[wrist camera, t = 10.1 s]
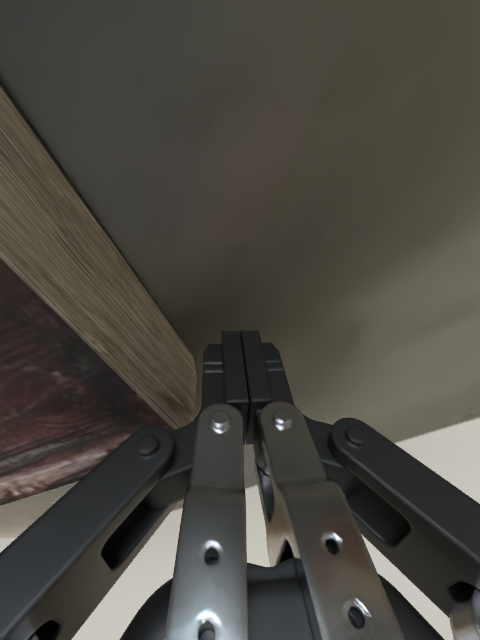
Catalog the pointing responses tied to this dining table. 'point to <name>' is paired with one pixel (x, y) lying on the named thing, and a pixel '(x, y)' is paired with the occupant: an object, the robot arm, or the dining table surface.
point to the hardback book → (72, 330)
